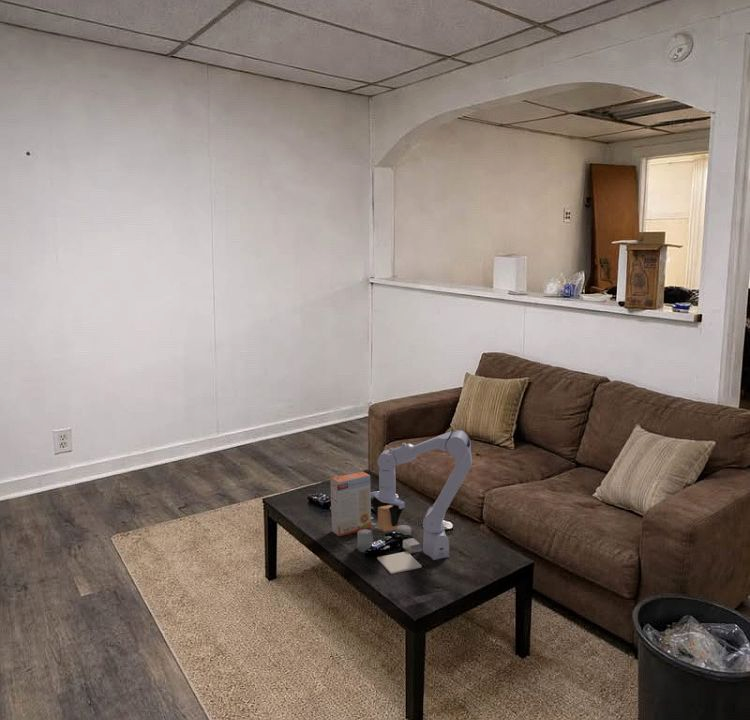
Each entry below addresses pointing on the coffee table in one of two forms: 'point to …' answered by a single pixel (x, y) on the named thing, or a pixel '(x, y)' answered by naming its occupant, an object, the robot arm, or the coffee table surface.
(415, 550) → the metal tin
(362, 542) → the grey rounded capsule
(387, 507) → the terracotta block
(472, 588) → the coffee table surface
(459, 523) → the coffee table surface
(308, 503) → the coffee table surface
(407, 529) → the matte grey ellipsoid
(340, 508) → the cracker box
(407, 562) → the ceramic tile
